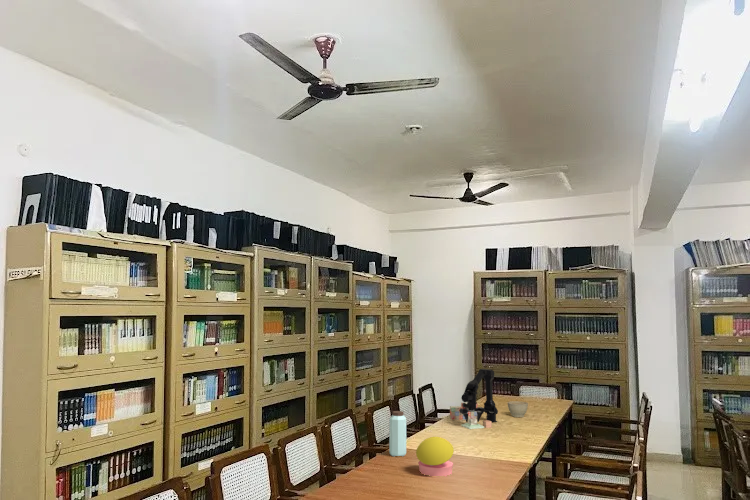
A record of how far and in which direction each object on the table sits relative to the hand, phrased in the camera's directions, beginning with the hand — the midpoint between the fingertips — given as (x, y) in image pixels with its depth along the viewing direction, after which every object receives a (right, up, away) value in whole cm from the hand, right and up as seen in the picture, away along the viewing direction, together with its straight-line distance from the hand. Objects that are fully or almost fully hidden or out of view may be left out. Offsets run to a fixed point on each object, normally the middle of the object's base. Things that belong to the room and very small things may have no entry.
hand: (472, 422), depth 423 cm
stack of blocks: (-1, -7, +31) cm, 32 cm away
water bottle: (-58, +5, -82) cm, 101 cm away
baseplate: (0, -3, 0) cm, 3 cm away
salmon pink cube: (+11, -4, -1) cm, 11 cm away
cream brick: (0, -2, 0) cm, 2 cm away
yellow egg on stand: (-40, +8, -118) cm, 125 cm away
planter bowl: (+44, -8, +42) cm, 61 cm away
